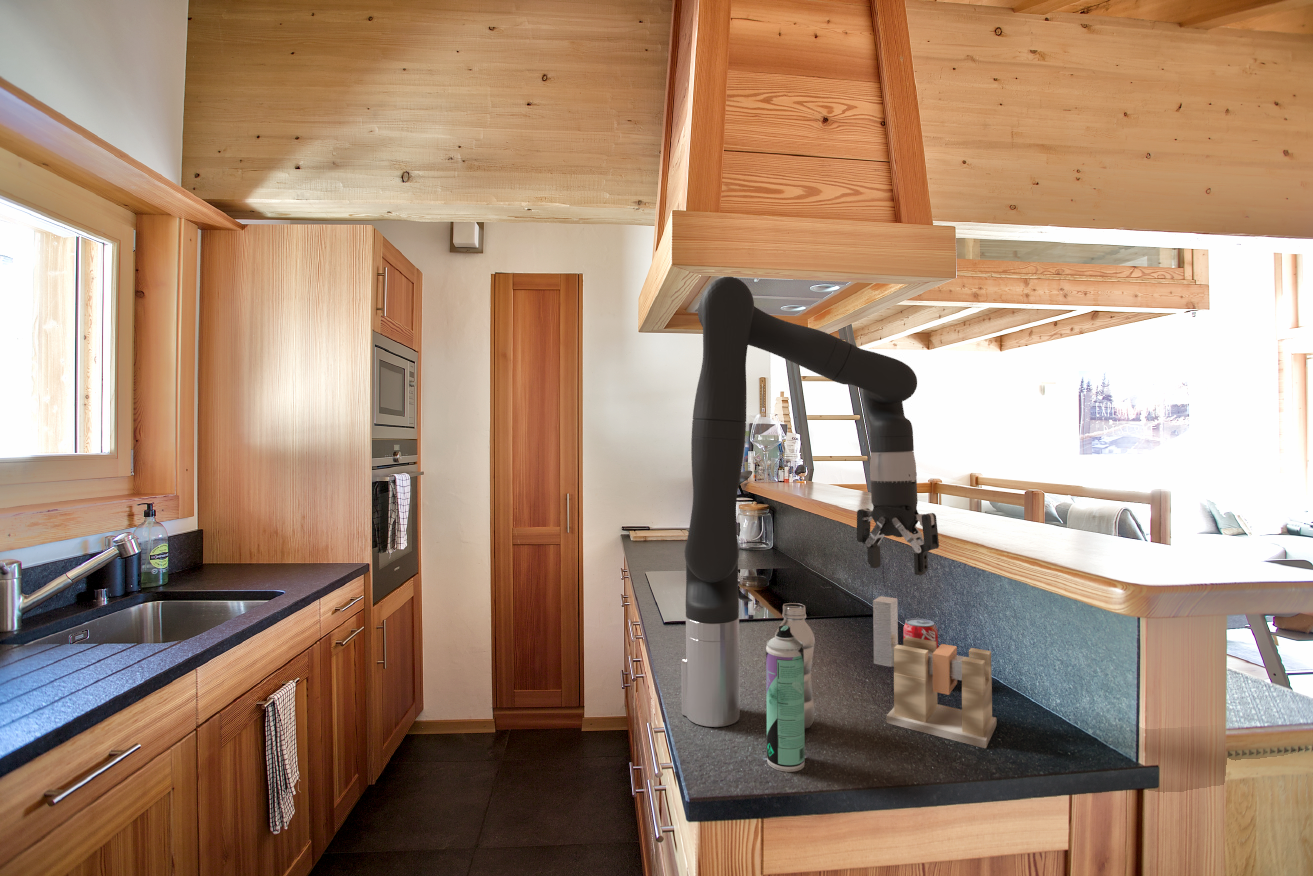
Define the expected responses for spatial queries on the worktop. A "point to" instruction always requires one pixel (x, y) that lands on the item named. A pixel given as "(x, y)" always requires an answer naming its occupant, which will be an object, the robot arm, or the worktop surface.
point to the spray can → (785, 701)
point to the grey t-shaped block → (888, 637)
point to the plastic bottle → (803, 633)
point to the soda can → (921, 629)
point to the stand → (920, 702)
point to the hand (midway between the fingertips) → (897, 571)
